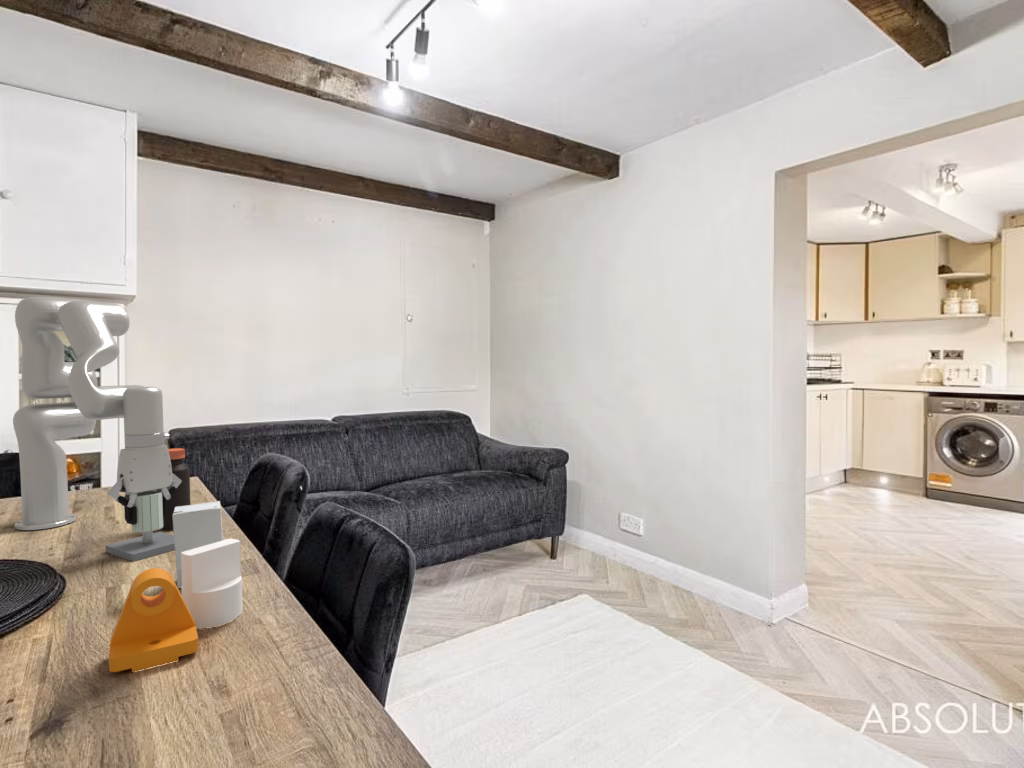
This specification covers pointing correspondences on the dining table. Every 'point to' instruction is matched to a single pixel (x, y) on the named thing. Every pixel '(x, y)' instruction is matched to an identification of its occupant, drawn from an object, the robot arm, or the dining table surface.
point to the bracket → (152, 625)
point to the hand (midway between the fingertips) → (147, 519)
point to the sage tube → (149, 511)
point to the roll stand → (142, 546)
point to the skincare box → (195, 529)
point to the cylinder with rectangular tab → (212, 582)
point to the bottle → (183, 490)
